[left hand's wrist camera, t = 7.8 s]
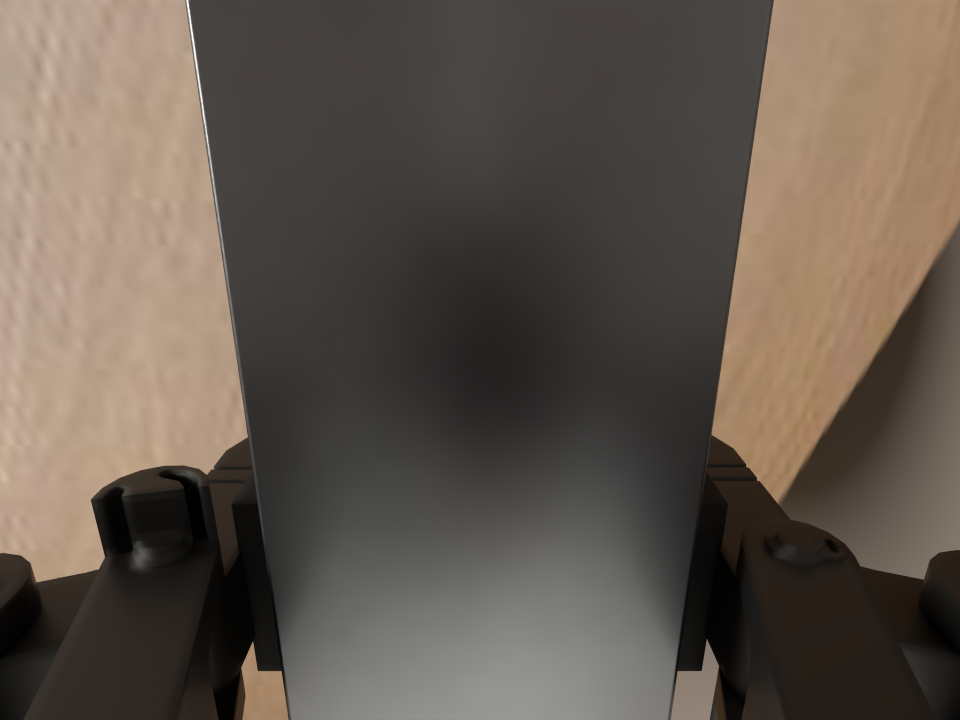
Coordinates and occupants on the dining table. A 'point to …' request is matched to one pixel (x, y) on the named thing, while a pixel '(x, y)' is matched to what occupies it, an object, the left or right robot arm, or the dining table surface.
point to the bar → (479, 334)
